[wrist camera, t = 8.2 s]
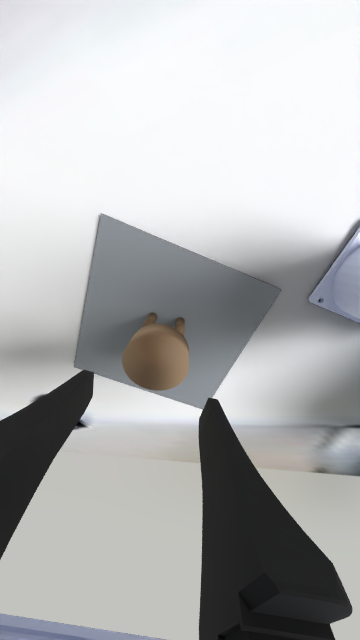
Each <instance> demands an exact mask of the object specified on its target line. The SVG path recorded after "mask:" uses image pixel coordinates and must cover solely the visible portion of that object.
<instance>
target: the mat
mask: <svg viewBox="0 0 360 640" xmlns="http://www.w3.org/2000/svg"><path fill="white" fill-rule="evenodd" d="M280 291H281V289H279V288H276V287H274V286H272V285H269V284H267V283H265V282H262V281H260V280H258V279H255V278H253V277H250V276H248V275H246V274H243V273H241V272H239V271H236V270H234V269H232V268H229V267H227V266H225V265H222V264H220V263H218V262H215V261H213V260H210V259H208V258H206V257H203V256H201V255H199V254H196V253H194V252H192V251H189V250H187V249H185V248H182V247H180V246H177V245H175V244H173V243H170V242H168V241H166V240H163V239H161V238H159V237H156V236H154V235H152V234H149V233H147V232H144V231H142V230H140V229H137V228H135V227H133V226H130V225H128V224H126V223H123V222H121V221H119V220H116V219H114V218H112V217H109V216H107V215H104V214H102V213H101V217H100V222H99V228H98V233H97V239H96V245H95V250H94V256H93V262H92V267H91V273H90V278H89V284H88V290H87V295H86V301H85V307H84V312H83V318H82V323H81V329H80V335H79V340H78V346H77V352H76V357H75V363H74V367H76V368H79V369H82V370H87V371H92V372H94V374H97V375H100V376H103V377H106V378H109V379H112V380H115V381H118V382H121V383H124V384H127V385H130V386H133V387H136V388H139V389H143V390H146V391H149V392H152V393H155V394H158V395H161V396H164V397H167V398H170V399H173V400H176V401H179V402H182V403H185V404H188V405H191V406H194V407H197V408H200V409H204V407H205V404H206V402H207V399H208V398H212V397H213V395H214V394H215V392H216V391H217V389H218V388H219V386H220V385H221V383H222V381H223V380H224V378H225V377H226V375H227V374H228V372H229V370H230V369H231V367H232V366H233V364H234V363H235V361H236V360H237V358H238V356H239V355H240V353H241V352H242V350H243V349H244V347H245V346H246V344H247V342H248V341H249V339H250V338H251V336H252V335H253V333H254V331H255V330H256V328H257V327H258V325H259V324H260V322H261V321H262V319H263V317H264V316H265V314H266V313H267V311H268V310H269V308H270V307H271V305H272V303H273V302H274V300H275V299H276V297H277V296H278V294H279V292H280ZM152 312H153V313H156V314H157V317H158V318H157V320H156V323H155V324H165V325H169V326H171V327H173V328H175V322H176V319H177V318H179V317H182V318H184V320H185V329H184V337H185V339H186V341H187V343H188V347H189V369H188V373H187V375H186V377H185V379H184V380H183V381H182V382H181V383H180V384H179V385H177V386H176V387H174V388H172V389H168V390H163V391H154V390H149V389H145V388H143V387H140V386H138V385H137V384H135V383H134V382H133V381H132V380H130V378H129V377H128V376H127V375H126V373H125V371H124V369H123V365H122V356H123V353H124V351H125V349H126V347H127V346H128V344H129V342H130V341H131V339H132V337H133V336H134V334H135V333H136V332H137V331H138V330H139V329H140V328H141V327H142V326H143V324H144V322H145V320H146V319H147V317H148V315H149V314H150V313H152Z"/></svg>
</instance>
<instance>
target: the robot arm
mask: <svg viewBox="0 0 360 640" xmlns="http://www.w3.org/2000/svg"><path fill="white" fill-rule="evenodd" d="M320 298H321V301H319V302H318V300H319V299H320ZM309 301H310V302H311V303H313V304H316V305H318V306H321V307H323V308H325V309H328V310H330V311H332V312H335V313H337V314H339V315H342V316H344V317H346V318H349V319H351V320H354V321H356V322H358V323H360V227H359V229H358V230H357V231H356V233H355V234H354V236H353V237H352V238H351V240H350V241H349V243H348V244H347V245H346V247H345V248H344V250H343V251H342V252H341V254H340V255H339V256H338V258H337V259H336V261H335V262H334V263H333V265H332V266H331V268H330V269H329V270H328V272H327V273H326V274H325V276H324V277H323V279H322V280H321V281H320V283H319V284H318V286H317V287H316V288H315V290H314V291H313V293H312V294H311V295H310V297H309ZM93 380H94V372H92V371H87V370H83V371H81V372H80V373H78V374H77V375H75V376H74V377H72V378H71V379H69V380H68V381H66V382H65V383H64V384H62V385H61V386H59V387H57V388H56V389H54V390H53V391H51V392H50V393H48V394H47V395H45V396H44V397H42V398H40V399H39V400H37V401H35V402H34V403H32V404H30V405H29V406H27V407H25V408H23V409H22V410H20V411H18V412H16V413H14V414H13V415H11V416H9V417H7V418H5V419H3V420H1V421H0V559H1V557H2V555H3V553H4V551H5V549H6V547H7V545H8V543H9V541H10V539H11V537H12V535H13V533H14V531H15V529H16V527H17V526H18V524H19V522H20V520H21V518H22V516H23V514H24V512H25V510H26V508H27V506H28V505H29V503H30V501H31V499H32V497H33V495H34V493H35V492H36V490H37V487H38V486H39V484H40V482H41V481H42V479H43V477H44V475H45V473H46V472H47V470H48V468H49V466H50V464H51V463H52V461H53V459H54V458H55V456H56V454H57V453H58V451H59V450H60V448H61V447H62V445H63V444H64V442H65V441H66V439H67V438H68V436H69V435H70V433H71V432H72V430H73V429H74V427H75V426H76V424H77V423H78V421H79V420H80V418H81V417H82V415H83V414H84V412H85V410H86V408H87V406H88V404H89V402H90V400H91V398H92V396H93ZM199 449H200V461H201V473H202V490H203V524H202V525H203V526H202V528H203V530H202V572H201V597H200V619H199V640H335V638H334V635H333V632H332V630H331V627H330V623H332V622H335V621H338V620H341V619H344V618H346V617H348V616H350V615H351V613H352V606H351V604H350V601H349V599H348V596H347V594H346V592H345V589H344V587H343V585H342V583H341V580H340V579H339V576H338V574H337V572H336V570H335V568H334V566H333V563H332V562H331V561H330V560H329V559H328V558H327V557H326V556H325V554H324V553H323V552H322V551H321V550H320V549H319V548H318V547H317V545H316V544H315V543H314V542H313V541H312V540H311V539H310V538H309V536H307V534H306V533H305V532H304V531H303V530H302V528H301V527H300V526H299V525H298V524H297V522H296V521H295V520H294V519H293V518H292V516H291V515H290V514H289V513H288V512H287V511H286V509H285V508H284V507H283V505H282V504H281V503H280V501H279V500H278V499H277V497H276V496H275V495H274V493H273V492H272V491H271V489H270V488H269V487H268V485H267V484H266V483H265V481H264V480H263V478H262V477H261V476H260V474H259V473H258V471H257V470H256V468H255V467H254V465H253V464H252V462H251V460H250V459H249V457H248V456H247V454H246V452H245V451H244V449H243V447H242V446H241V444H240V442H239V440H238V438H237V437H236V435H235V433H234V431H233V429H232V427H231V425H230V423H229V421H228V419H227V417H226V415H225V413H224V411H223V409H222V407H221V405H220V403H219V401H218V400H217V399H213V398H208V399H207V402H206V404H205V407H204V409H203V411H202V414H201V416H200V419H199ZM0 640H165V639H158V638H152V637H146V636H140V635H133V634H127V633H120V632H114V631H108V630H101V629H95V628H89V627H82V626H76V625H69V624H63V623H57V622H50V621H44V620H38V619H31V618H25V617H19V616H12V615H5V614H0Z"/></svg>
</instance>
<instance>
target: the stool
mask: <svg viewBox="0 0 360 640" xmlns="http://www.w3.org/2000/svg"><path fill="white" fill-rule="evenodd" d="M157 318H158V317H157V314H156V313H153V312H152V313H150V314H149V315H148V317H147V319H146V320H145V322H144V324H143V326H142V327H141V328H140V329H139V330H138V331H137V332H136V333H135V334H134V336H133V337H132V339H131V341H130V342H129V344H128V346H127V347H126V349H125V351H124V353H123V356H122V365H123V369H124V371H125V373H126V375H127V376H128V377H129V378H130V380H132V381H133V382H134V383H135V384H137V385H138V386H140V387H143V388H145V389H149V390H154V391H163V390H168V389H172V388H174V387H176V386H177V385H179V384H180V383H181V382H182V381H183V380H184V379H185V377H186V375H187V373H188V369H189V347H188V343H187V341H186V339H185V337H184V329H185V320H184V318H182V317H179V318H177V319H176V322H175V328H173V327H171V326H169V325H165V324H155V323H156V320H157Z"/></svg>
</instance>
